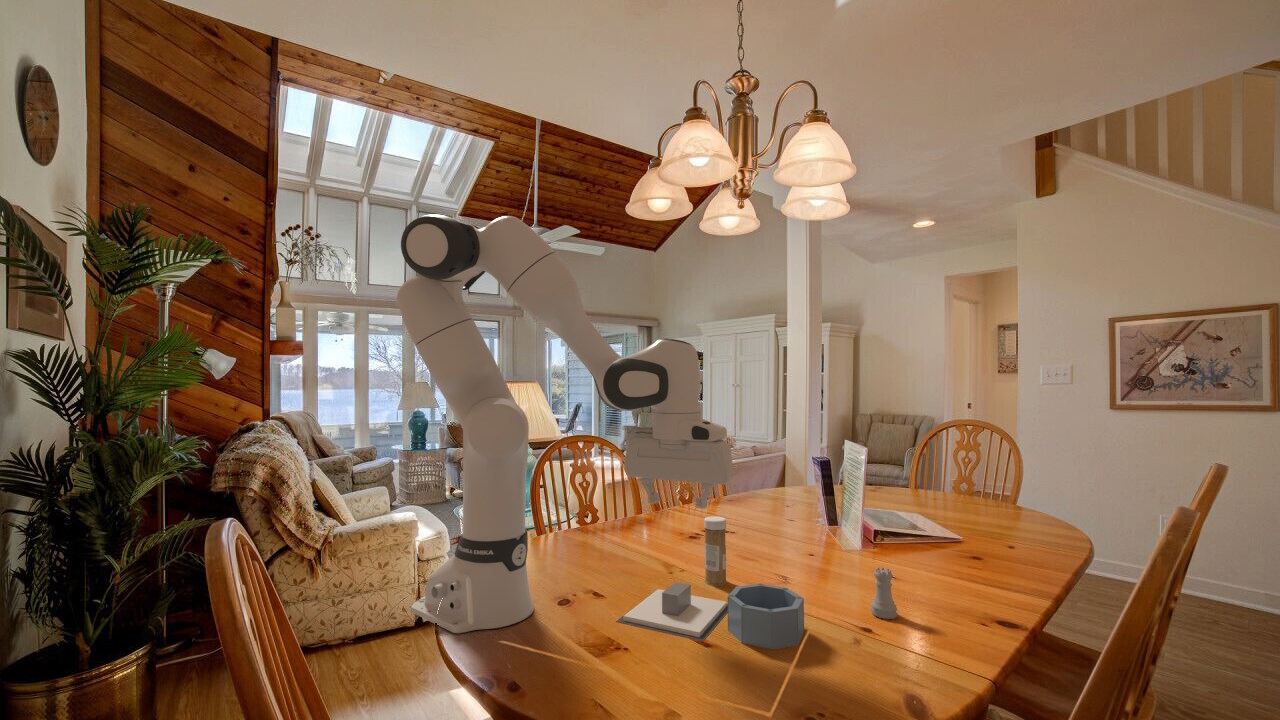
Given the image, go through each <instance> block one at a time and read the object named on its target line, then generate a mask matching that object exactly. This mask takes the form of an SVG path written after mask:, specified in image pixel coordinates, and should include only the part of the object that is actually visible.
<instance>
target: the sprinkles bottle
mask: <svg viewBox="0 0 1280 720" xmlns="http://www.w3.org/2000/svg"><path fill="white" fill-rule="evenodd" d="M703 527H704V567H705V580H704V583H705V584H707V585H709V586H712V587H720V586H721V587H722V586H725V585H727V546H726V530H727V519H726V518H725V517H722V516H712V515H711V516H706V517H704V521H703Z"/></svg>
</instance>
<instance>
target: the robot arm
mask: <svg viewBox="0 0 1280 720" xmlns="http://www.w3.org/2000/svg"><path fill="white" fill-rule="evenodd" d="M400 239H401V240H400V250H401V255H402V257H403V260H404V261H405V263H406V264H407V265H408V267H409V268H411V269H412V270H413V271H414V272H415V275H414V276H412V277H410V278H409V279H408V280H406V281H405V282H404V283H403V284H402V285H401V286H400V287H399V288H398V292H397V295H396V301H397V305H398V308H399V312H400V314H401V316H402V320H403V322H404V325H405V328H406V329H407V332H408V334H409V336H410V339H411V341H412V342H413V344H414V346H415V347H416V349H417V351H418V353H419V356H420V357H421V359H422V361H423V363H424V364H425V367H426V368H427V370H428V372H429V374H430V375H431V377H432V379H433V381H434V383H435V385H436V386H437V388H438V390H439V392H440V393H441V394H442V396H443V397H444V400H445V401H446V403H447V404H448V406H449V408H450V409H451V411H452V412H453V414H454V416H455V418H456V419H457V421H458V423H459V425H460V427H461V429H462V461H463V462H462V481H463V482H462V488H463V490H462V533H461V534H460V535H458V536H456V537H453V538H450V540H451V541H453V542H451V543H450V545H451V546H453V545H455V544H457V545H456V547H455V550H454V555H452V556H451V557H449V559H447V560H446V561H445V562H444V563H442V564H441V565H440V566H439V567H437V568H436V569H435V570H433V572H431V574H430V575H429V576H428V578H427V581H426V585H425V595H424V596H422V597H421V598H419V599H418V600H416V601H415V602H414V603H413V604H412V605H411V607H410V612H411V613H412V614H414V615H417V616H418V617H420V618H422V619H424V620H426V621H428V622H430V623H432V624H434V625H436V624H435V623H436V614H437V610H438V607H439V604H440V602H441V604H440V607H439V610H438V614H437V625H436V626H438V624H439V627H441V628H443V629H444V630H447V631H449V632H450V633H453V634H463V633H467V632H471V631H476V630H477V631H478V630H489V629H498V628H503V627H507V626H511V625H514V624H516V623H520V622H521V621H524V620H525V619H527V618H528V617H530V616H531V615H532V613H533V612H534V610H535V606H534V604H533V600H532V596H531V590H530V584H529V579H528V570H527V567H528V566H527V558H528V557H527V556H528V551H529V549H528V547H529V546H528V544H529V543H528V542H529V540H528V539H529V538H528V537H529V536H528V531H527V530H526V493H527V492H526V491H527V488H526V487H527V474H528V473H527V472H528V471H527V470H528V456H529V455H528V454H529V432H530V431H529V430H530V429H529V428H530V427H529V421H528V417H527V415H526V413H525V411H524V410H523V409H522V407H521V406H520V405H519V404H517V402H516V399H515V398H514V396H513V394H512V392H511V389H510V388H509V387H508V385H507V382H506V381H505V378H504V376H503V374H502V372H501V370H500V368H499V367H498V364H497V362H496V360H495V358H494V356H493V354H492V352H491V350H490V349H489V346H488V344H487V343H486V341H485V339H484V337H483V335H482V333H481V331H480V330H479V328H478V326H477V324H476V322H475V320H474V318H473V317H472V315H471V313H470V311H469V309H468V308H467V306H466V302H465V301H464V298H463V291H468V290H469V289H470V288H471V287H472V286H473V285H474V284H475V283H476V282H477V280H479V279H480V278H481V277H482V276H483V275H484V274H485V273H488V274H490V275H491V276H492V277H493V278H494V279H495V280H496V281H497V282H498V283H499V284H500V285H501V286H502V288H503V289H504V290H505V291H506V292H507V293H508V295H509V296H510V297H511V298H512V299H513V300H514V301H515V302H516V304H518V306H519V307H521V308H522V309H523V310H524V311H525V312H527V313H528V314H529V315H530V316H531V317H532V318H534V319H535V321H538V322H539V323H540V324H542V325H543V326H544V327H546V328H547V329H548V330H550V331H552V332H553V333H554V334H555V335H556V336H558V337H559V338H560V339H561V340H562V341H564V344H566V345H567V347H569V348H570V350H571V351H572V352H573V354H574V355H575V356H576V357H577V358H578V359H579V361H580V362H581V363H582V364H583V365H584V367H585V368H586V369H587V370H588V371H589V373H590V374H591V376H592V377H593V381H594V384H595V388H596V391H597V394H598V396H599V398H600V400H601V401H602V402H603V404H605V405H606V406H607V407H609V408H610V409H612V410H615V411H621V412H622V411H624V412H632V411H637V410H640V409H642V408H647V407H650V408H651V411H652V412H651V425H652V426H651V427H649V426H648V427H640V426H639V427H638V426H635V427H632V429H630V430H628V431H627V433H626V436H625V446H626V449H625V455H624V456H625V458H624V467H623V468H624V469H623V470H624V472H625V474H626V476H627V477H629V478H640V479H641V485H642V486H643V488H644V490H645V492H646V494H647V503H648V504H658V503H659V501H660V492H657V491H655V488H654V486H653V483H654V482H655V480H664V481H675V482H686V483H687V482H688V483H700V484H701V489H702V490H704V491H703V492H702V494H701V496H698V497H696V498H695V503H696V504H695V508H696V509H702V510H703V509H704V510H706V509H707V508H708V498H709V496H710V494H711V492H712V491H713V489H714V485H727V484H728V483H729V482H731V480H733V476H734V468H733V467H734V466H733V456H732V449H731V446H730V445H729V443H728V442H727V441H726V440H725V439H726V438H727V435H728V430H727V428H726V427H725V426H724V425H721V424H717V423H715V422H713V421H709V420H707V419H705V418H702V417H701V415H702V414H701V407H700V402H699V397H700V396H699V395H700V392H701V374H700V373H701V372H700V361H699V355H698V351H697V350H696V348H695V347H694V345H693V344H691V343H690V342H688V341H684V340H679V339H676V338H658V339H657V340H655V341H654V342H653V343H651V344H650V345H649V346H647V347H645V348H643V349H640V350H639V351H637V352H635V353H633V354H629V355H626V356H624V357H623V356H621V355H620V354H618V353H617V352H616V351H615V349H614V348H613V347H612V346H611V345H610V344H609V343H608V341H607V340H606V339H605V338H604V337H603V335H602V334H601V332H600V331H598V329H597V328H596V326H594V324H593V323H592V322H591V320H590V319H589V317H588V315H587V313H586V311H585V308H584V304H583V302H582V297H581V293H580V289H579V285H578V284H577V281H576V279H575V278H574V277H573V274H572V272H571V271H570V270H569V268H568V267H567V265H566V264H565V262H564V261H563V259H562V258H561V257H560V256H559V255H558V254H557V252H555V250H554V249H553V248H552V247H551V246H550V245H549V243H547V242H546V240H544V238H542V236H540V235H539V234H538V233H537V232H536V231H535V230H533V229H532V227H530V226H529V225H528V224H527V223H525V222H524V221H522V220H521V219H520V218H518V217H516V216H513V215H503V216H501V217H498V218H495V219H494V220H491V221H490V222H489V223H488V224H487V225H486V226H484V227H482V228H479V227H478V226H476V225H474V224H472V223H469V222H467V221H465V220H463V219H460V218H458V217H449V216H447V215H442V214H426V215H423V216H419V217H417V218H415V219H413V220H412V221H411V222H409V223H408V224H407V226H406V227H405V229H404V230H403V233H402V235H401V238H400ZM442 598H443V599H442ZM441 600H442V601H441Z"/></svg>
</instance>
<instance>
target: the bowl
mask: <svg viewBox="0 0 1280 720" xmlns="http://www.w3.org/2000/svg"><path fill="white" fill-rule="evenodd" d="M804 600H805V598H804V597H802V596H801V595H799V594H798V593H796V592H794V591H793V590H791V589H789V588H788V587H784V586H783V587H782V586H779V585H773V584H765V583H754V584H746V585H739V586H737V585H736V586H735V588H733V589H732V591H731V592H730V593H729V594H728V595H727V604H728V613H727V631H728V632H729V633H730V634H731V635H732V636H734V637H735V638H736V639H737V640H738V642H740V643H741V644H744V645H749V646H752V647H753V646H754V647H759V648H762V649H766V650H767V649H768V650H771V651H773V650H777V649H783V648H790V647H796V646H799V645H800V642H801V639H802V638H803V637H804V636H803V635H804V634H805V605H804V604H805V601H804Z"/></svg>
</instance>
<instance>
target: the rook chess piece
mask: <svg viewBox="0 0 1280 720" xmlns="http://www.w3.org/2000/svg"><path fill="white" fill-rule="evenodd" d="M873 576H874V577H875V579H876V580H875V587H876V589H875V596H874V598H873V601H872V602H871V604H870V606H871V609H870V612H871V614H872V615H873V616H874V615H875V616H877V617H876V618H878V617H879V618H878V619H881V618H883V619H882V620H886V619H892V620H895V619H896V618H897V617H898V612H897V611H898V608H897V605H896V604H895V601H894V599H893V595H892V586H893V583H892V582H891V581H892V580H893V578H894V575H893V574H892V570H891V569H889V568H887V567H886V568H885V567H876V568H875V571H874V573H873ZM875 616H874V617H875Z"/></svg>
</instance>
